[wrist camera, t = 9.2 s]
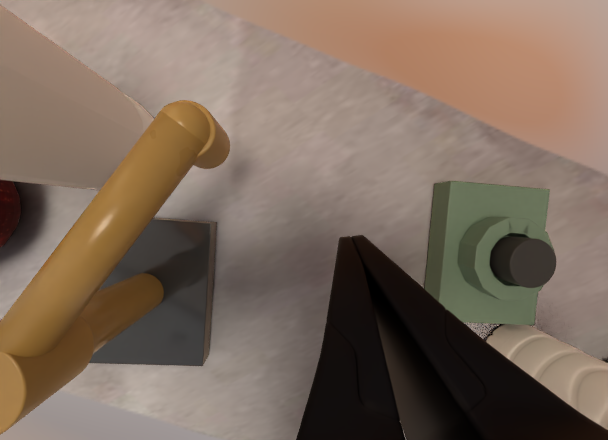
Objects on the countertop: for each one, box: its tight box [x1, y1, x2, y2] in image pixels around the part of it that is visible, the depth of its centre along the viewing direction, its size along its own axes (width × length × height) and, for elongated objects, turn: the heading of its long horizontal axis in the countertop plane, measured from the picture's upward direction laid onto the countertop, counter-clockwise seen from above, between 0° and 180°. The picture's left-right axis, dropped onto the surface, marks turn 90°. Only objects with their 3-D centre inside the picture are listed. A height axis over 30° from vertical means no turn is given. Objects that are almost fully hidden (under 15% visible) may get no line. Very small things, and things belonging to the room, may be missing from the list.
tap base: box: [80, 214, 217, 366], centre depth 15 cm, size 12×10×8 cm
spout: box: [0, 100, 230, 434], centre depth 10 cm, size 16×4×3 cm, turn 143°
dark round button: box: [490, 236, 556, 288], centre depth 17 cm, size 4×4×2 cm
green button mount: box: [425, 181, 554, 325], centre depth 19 cm, size 12×9×4 cm
